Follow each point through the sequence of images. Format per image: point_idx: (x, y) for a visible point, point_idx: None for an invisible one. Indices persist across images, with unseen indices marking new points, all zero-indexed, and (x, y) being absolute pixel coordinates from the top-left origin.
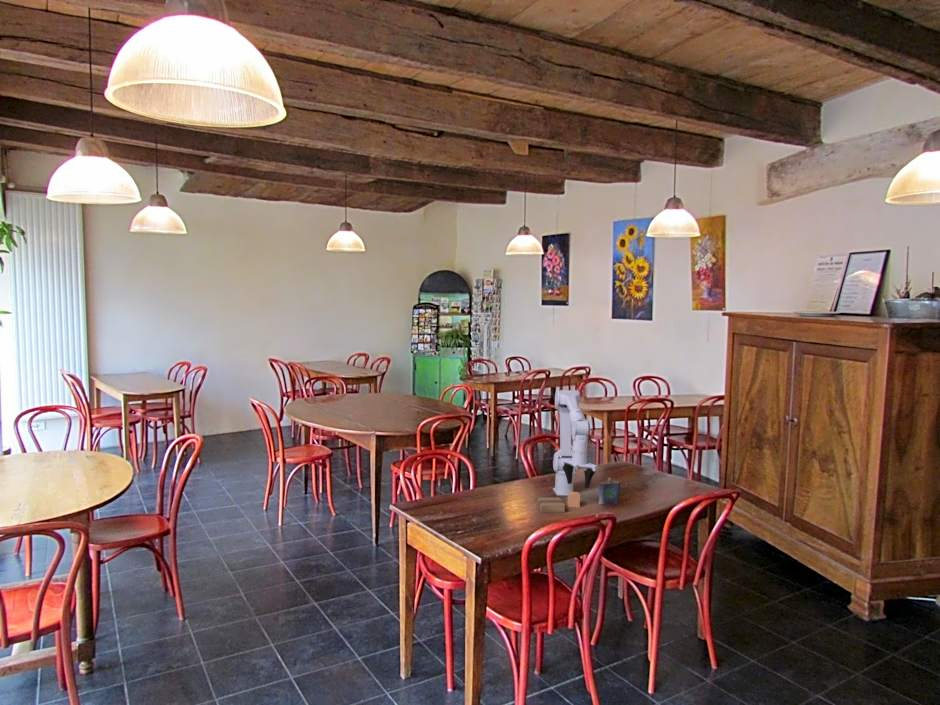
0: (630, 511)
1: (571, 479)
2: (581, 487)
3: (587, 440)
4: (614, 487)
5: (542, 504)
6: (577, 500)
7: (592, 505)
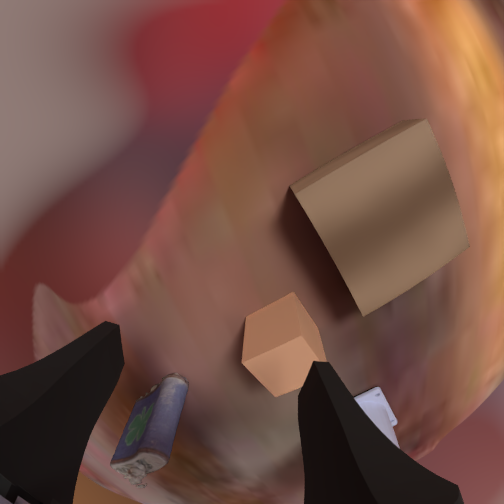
0: None
1: (303, 421)
2: None
3: None
4: (124, 447)
5: (426, 127)
6: (256, 334)
7: (202, 360)
